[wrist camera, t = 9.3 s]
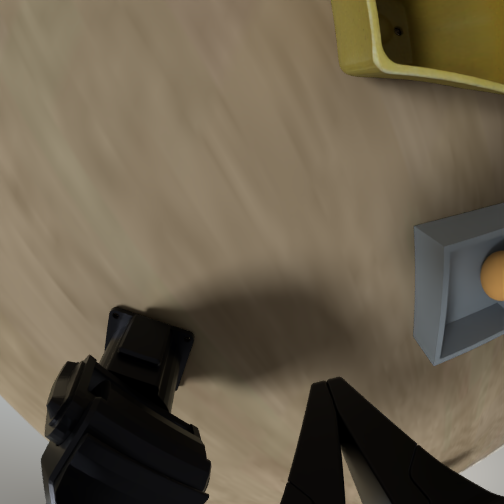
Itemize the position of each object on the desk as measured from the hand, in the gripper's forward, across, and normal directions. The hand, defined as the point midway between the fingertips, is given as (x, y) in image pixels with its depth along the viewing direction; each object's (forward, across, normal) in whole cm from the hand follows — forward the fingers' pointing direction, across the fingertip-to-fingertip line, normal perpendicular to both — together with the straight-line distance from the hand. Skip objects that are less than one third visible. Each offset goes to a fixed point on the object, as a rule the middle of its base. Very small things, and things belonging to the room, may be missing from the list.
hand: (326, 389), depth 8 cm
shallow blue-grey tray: (+13, -15, +7) cm, 21 cm away
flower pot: (+13, -9, -12) cm, 20 cm away
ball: (+10, -17, +7) cm, 21 cm away
